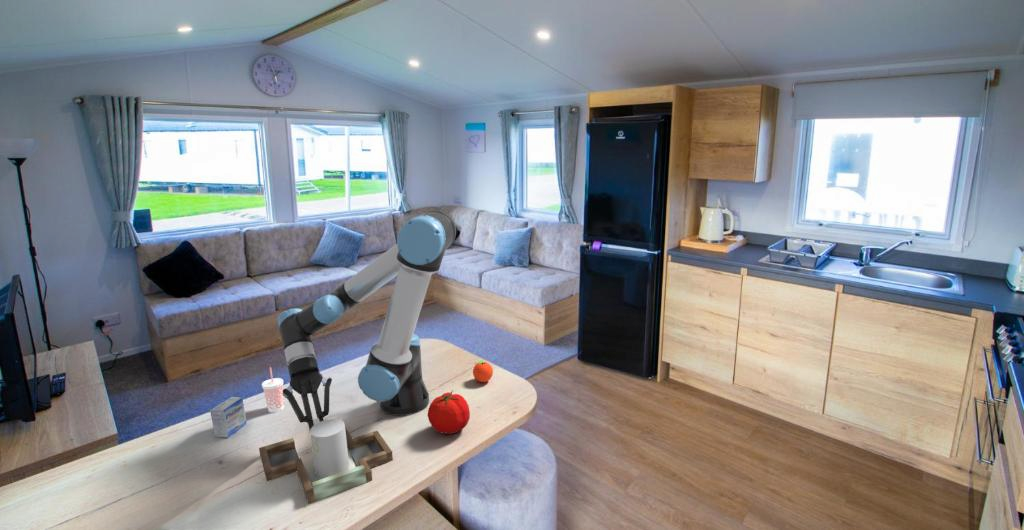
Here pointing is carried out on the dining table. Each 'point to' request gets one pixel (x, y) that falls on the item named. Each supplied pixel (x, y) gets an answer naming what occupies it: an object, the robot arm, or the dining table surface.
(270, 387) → the beverage cup
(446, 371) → the dining table surface
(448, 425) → the tomato
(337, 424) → the gray cylinder
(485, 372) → the clementine
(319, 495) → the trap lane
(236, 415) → the medicine box
